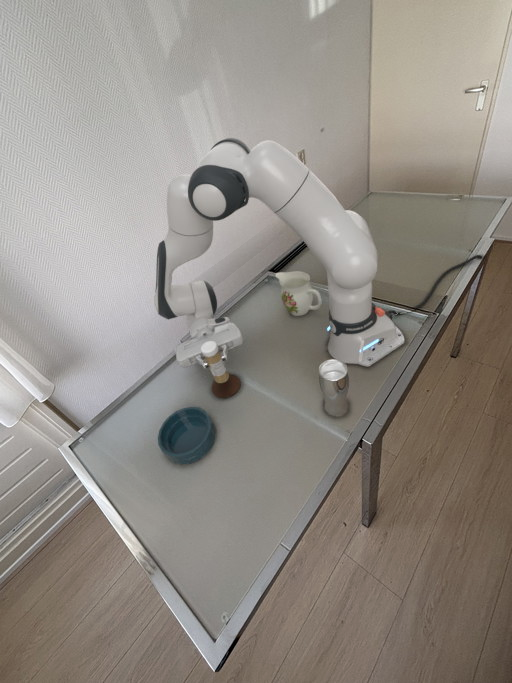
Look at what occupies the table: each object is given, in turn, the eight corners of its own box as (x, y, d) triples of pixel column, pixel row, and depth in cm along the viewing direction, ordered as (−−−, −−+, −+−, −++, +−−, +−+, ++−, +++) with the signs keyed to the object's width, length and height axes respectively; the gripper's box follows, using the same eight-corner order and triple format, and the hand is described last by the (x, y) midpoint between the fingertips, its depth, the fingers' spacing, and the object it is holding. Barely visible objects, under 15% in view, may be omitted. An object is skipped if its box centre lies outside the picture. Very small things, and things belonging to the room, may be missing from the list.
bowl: (209, 409, 93) (204, 399, 89) (222, 451, 82) (216, 441, 79) (162, 429, 91) (155, 419, 88) (169, 474, 80) (160, 465, 77)
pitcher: (314, 327, 108) (310, 294, 99) (273, 312, 119) (266, 281, 110) (331, 308, 113) (328, 275, 104) (290, 296, 124) (285, 265, 115)
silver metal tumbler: (350, 419, 81) (348, 381, 71) (322, 417, 83) (316, 381, 73) (349, 396, 85) (348, 358, 75) (323, 395, 87) (318, 358, 77)
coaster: (236, 371, 101) (235, 369, 101) (244, 391, 95) (244, 389, 94) (209, 382, 101) (209, 381, 100) (216, 403, 94) (215, 401, 93)
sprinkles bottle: (214, 373, 97) (200, 342, 88) (229, 370, 96) (216, 338, 87) (214, 385, 93) (200, 353, 84) (230, 382, 93) (216, 350, 84)
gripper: (169, 339, 96) (176, 369, 86) (232, 314, 98) (246, 341, 88) (177, 353, 100) (184, 384, 90) (237, 329, 103) (251, 356, 92)
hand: (215, 362), depth 89 cm, fingers closed on sprinkles bottle, 4 cm apart
